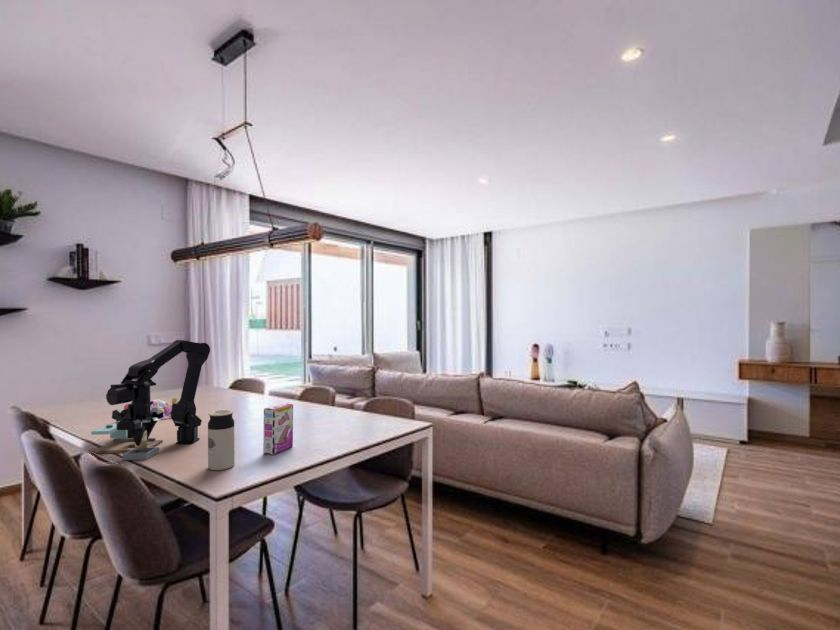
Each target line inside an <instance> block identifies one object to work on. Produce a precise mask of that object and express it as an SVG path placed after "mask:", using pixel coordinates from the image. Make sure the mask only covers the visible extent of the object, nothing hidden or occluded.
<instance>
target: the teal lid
mask: <svg viewBox="0 0 840 630" xmlns="http://www.w3.org/2000/svg"><path fill="white" fill-rule="evenodd" d="M116 424H117V423H109V424H107V425H105V426H101V427H99V428H97V429H96V428H95V429H94V430H91V431H90V432H91V433H90V434H91V435H95V436H97V435H109V439H115V438H128V430H116Z"/></svg>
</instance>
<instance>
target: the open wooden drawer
mask: <svg viewBox="0 0 840 630" xmlns="http://www.w3.org/2000/svg"><path fill="white" fill-rule="evenodd" d="M163 441H164V440H163V439H156V437H149V438H148V440H147V447H158V446H159V445H161V444H163V443H162V442H163ZM160 443H161V444H160ZM158 444H159V445H158ZM133 448H135V441H134V439H133V438H112V442H110V443H107V444H105V445H102V446H100V447H98V448H96V449H94V450H93V454H103V453H104V454H113V453H115V454H116V453H117V454H124V453H126V452H128V451H130V450H132V449H133Z"/></svg>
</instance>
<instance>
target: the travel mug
mask: <svg viewBox="0 0 840 630" xmlns="http://www.w3.org/2000/svg"><path fill="white" fill-rule="evenodd" d="M233 413H234V410H233V409H219V410H212V411H210V412H209V413H208V416H209V421H208V422H207V469H209V470H211V471H222V470H223V471H224V470H228V469H231V468H232V467H233V466H235V464H236V463H235V460H236V459H235V453H236V452H235V419H234V417H233Z"/></svg>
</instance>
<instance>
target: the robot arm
mask: <svg viewBox="0 0 840 630" xmlns="http://www.w3.org/2000/svg"><path fill="white" fill-rule="evenodd" d="M181 353H185V354H186V356H185V357H186V360H187V364H188V365H187V368H186V373H185V377H184V381H183V386H182V389H181V394H180V399H179V401H177V402H178V403H177V404H173V405H172V411H171V413H170V414H171V419H170V420H172V422H173V424H174V426H175V427H177V430H176V442H175V444H176V445H177V444H178V445H181V444H182V445H183V444H184V445H189V444H195V443H196V442H197V441H199V440H200V437H199V429H198V428H199V427H200V426H202V422H203V420H202V419H201V418H200V417H199V416H198V415H197V406H196V404H195V403H196V402H195V397H196V394H197V389H198V385H199V381H200V375H201V372H202V371H201V370H202V367H203V365H204V364H205V362H206V361H207V360H208V358H209V356H210V353H211V346H209V344H208V343H207V342H193V341H189V340H186V339H176V340H174V341H172V343H171V344H169V345H168V346H166V347H165V348H163V349H161V350H160V351H159V352H157V353H156V354H155V355H153V356H152V357H150V358H148V359H144V360H141V361H139V362H136V363H134V364H132V365H130V367H129V368H128V371H127V372H126V374H125V376H124V378H123V379H122V381H121V382H120V383H119V384H116V383H113V384H110V388H109V389H108V390H107V392H106V395H105V396H106V397H105V398H106V402H107V404H108V405H110V406H116V405H121V404H129V405H128V409H125V410H124V409H121V408H116V409H114V410H112V412H111V413H112V414H111V419H113V420H115V422H116V423H115V424H116V430H128V431H130V432H131V434H132V436H133V439H134V441H135V444H136V446H139V445H140V444H141V441H142V437H143V434H144V431H145V430H147V440H148V438H150V435H151V433H152V431H153V429H154V428H155V425H156V424H157V423H158V421H154V419H153V418H158V419H161V418H163V412H162V411H161V410H151V409H150V405H152V404H153V401H152V400H151V387H153V386H154V387H155V386H157V383H156V382H155V381H153V379H152V378H154V376H156V374H158V371H159V369H160V368H161V367H163V366H164V365H165V364H167V363H169V361H171V360H172V359H174V358H175V357H177V356H178V355H180V354H181ZM126 418H127V419H126ZM123 419H124V420H123ZM120 420H122V421H120Z"/></svg>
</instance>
